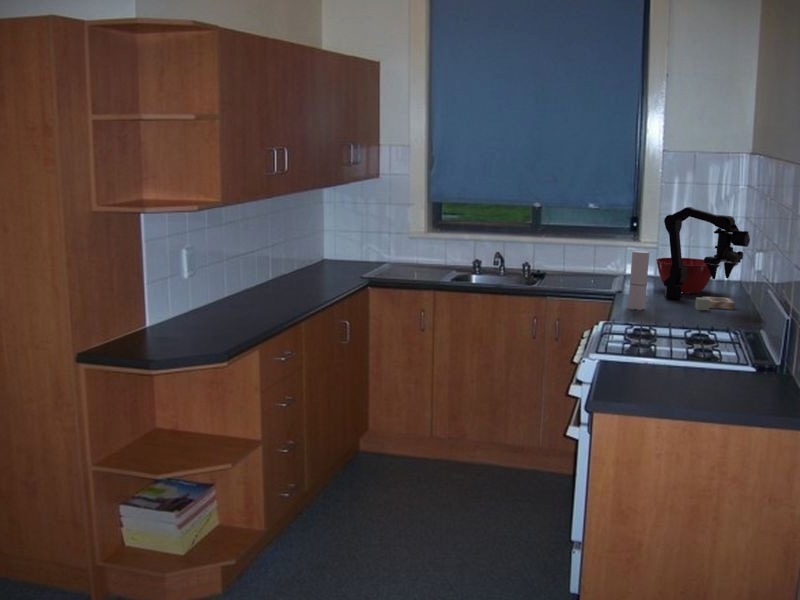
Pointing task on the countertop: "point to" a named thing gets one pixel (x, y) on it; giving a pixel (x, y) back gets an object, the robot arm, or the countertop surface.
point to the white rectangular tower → (638, 280)
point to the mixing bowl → (695, 271)
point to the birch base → (721, 303)
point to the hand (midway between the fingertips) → (720, 278)
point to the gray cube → (702, 303)
